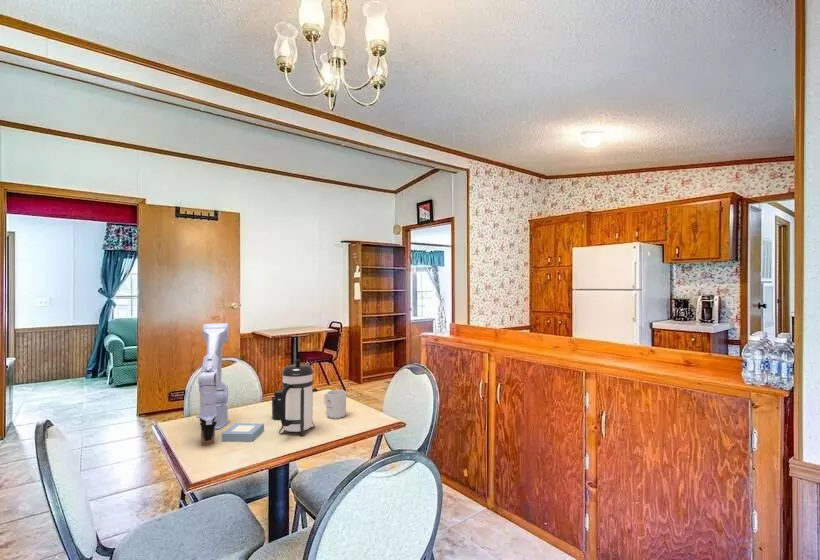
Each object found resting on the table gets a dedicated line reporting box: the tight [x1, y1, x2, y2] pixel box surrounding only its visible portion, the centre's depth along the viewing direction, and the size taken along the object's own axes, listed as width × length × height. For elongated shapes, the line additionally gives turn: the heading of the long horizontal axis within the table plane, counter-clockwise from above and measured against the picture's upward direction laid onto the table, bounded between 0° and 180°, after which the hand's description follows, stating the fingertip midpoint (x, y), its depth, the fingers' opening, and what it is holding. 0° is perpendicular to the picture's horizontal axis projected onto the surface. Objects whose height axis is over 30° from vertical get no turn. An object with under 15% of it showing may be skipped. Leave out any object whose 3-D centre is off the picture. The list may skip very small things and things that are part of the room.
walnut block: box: [200, 426, 216, 446], centre depth 161 cm, size 4×4×6 cm
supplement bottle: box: [271, 389, 282, 421], centre depth 190 cm, size 7×7×12 cm
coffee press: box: [278, 358, 316, 437], centre depth 172 cm, size 17×16×30 cm
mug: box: [323, 389, 347, 419], centre depth 194 cm, size 12×9×11 cm
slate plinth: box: [221, 422, 265, 443], centre depth 167 cm, size 12×12×3 cm
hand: (207, 438), depth 161 cm, fingers closed on walnut block, 4 cm apart
